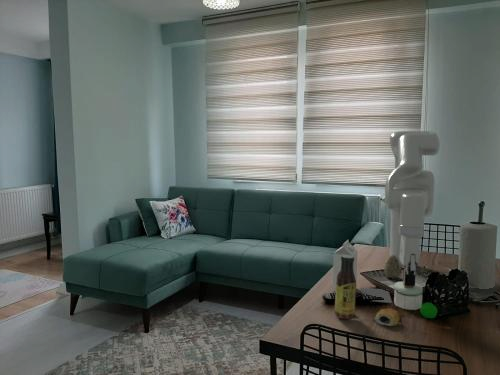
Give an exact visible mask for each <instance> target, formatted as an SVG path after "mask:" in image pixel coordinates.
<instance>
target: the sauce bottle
mask: <svg viewBox="0 0 500 375" xmlns="http://www.w3.org/2000/svg"><path fill="white" fill-rule="evenodd" d="M341 261H342V262H341V270H340V272H339V273H338V275H337V283H336V292H335V298H334V299H335V300H334V314H335V316H336V318H339V319H342V320H350V319H352V318H353V317H354V316H355V308H356V297H357V296H356V293H357V291H356V290H357V281H356V280H355V276H354V272H353V262H354V256H352V255H342V256H341Z"/></svg>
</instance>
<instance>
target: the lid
mask: <svg viewBox="0 0 500 375" xmlns="http://www.w3.org/2000/svg"><path fill="white" fill-rule="evenodd" d="M408 269H409V268H408ZM405 274H406V268H404V276H403V275H402V281H397V282H395V283H394V288H393V289H394V291H395V290H396V291H397V292H399V293H402V294H406V295H419V294H421V293H422V294H423V291H424V288H423V286H422V285H421V284H419V283H417V282H415V286H406V285H405Z"/></svg>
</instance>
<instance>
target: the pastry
mask: <svg viewBox="0 0 500 375" xmlns="http://www.w3.org/2000/svg"><path fill="white" fill-rule="evenodd" d="M400 320H401V318H400V314H399V311H398V310H396V309H393V308H390V307H389V308H382V309H380V310H379V311H378V312H376V314H375V317H374V321H375V323H377V324H378V325H382V326H388V327H396V326H397V325H399V321H400Z"/></svg>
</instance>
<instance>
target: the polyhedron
mask: <svg viewBox="0 0 500 375" xmlns="http://www.w3.org/2000/svg"><path fill="white" fill-rule="evenodd" d="M419 312H420V314H421V316H423V317H424V318H425V319H434V318H436V316H437V314H438V308H437V307H436V306H435V304H433V303H431V302H424V303H422V306H421V308H419Z"/></svg>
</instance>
